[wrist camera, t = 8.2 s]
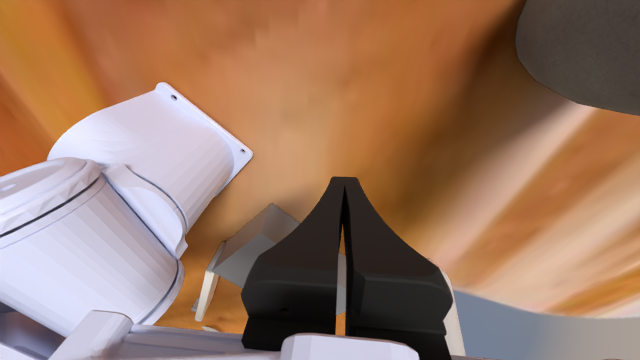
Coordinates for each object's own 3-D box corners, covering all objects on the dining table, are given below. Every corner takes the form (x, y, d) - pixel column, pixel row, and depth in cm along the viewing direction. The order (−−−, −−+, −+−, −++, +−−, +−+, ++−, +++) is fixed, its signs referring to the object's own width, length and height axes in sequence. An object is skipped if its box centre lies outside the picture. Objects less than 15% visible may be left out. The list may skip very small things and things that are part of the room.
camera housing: (226, 241, 31) (207, 277, 27) (272, 202, 26) (257, 239, 22) (314, 294, 36) (309, 331, 32) (364, 270, 32) (367, 310, 27)
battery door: (214, 238, 30) (198, 264, 27) (229, 243, 31) (215, 269, 27) (201, 293, 39) (188, 318, 36) (213, 296, 39) (201, 321, 36)
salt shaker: (427, 284, 32) (466, 415, 22) (389, 274, 32) (410, 403, 21) (453, 260, 29) (515, 401, 18) (411, 248, 28) (450, 386, 18)
